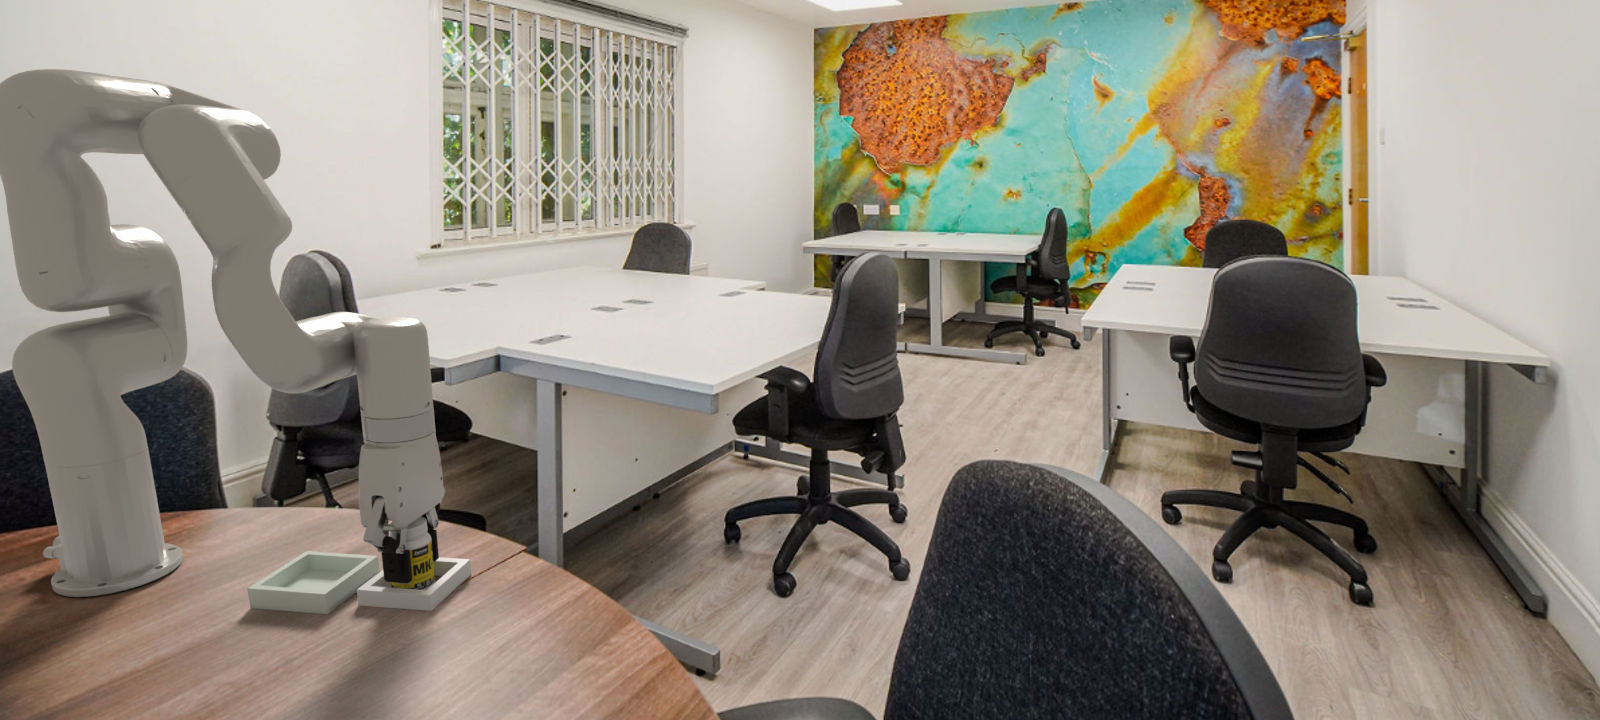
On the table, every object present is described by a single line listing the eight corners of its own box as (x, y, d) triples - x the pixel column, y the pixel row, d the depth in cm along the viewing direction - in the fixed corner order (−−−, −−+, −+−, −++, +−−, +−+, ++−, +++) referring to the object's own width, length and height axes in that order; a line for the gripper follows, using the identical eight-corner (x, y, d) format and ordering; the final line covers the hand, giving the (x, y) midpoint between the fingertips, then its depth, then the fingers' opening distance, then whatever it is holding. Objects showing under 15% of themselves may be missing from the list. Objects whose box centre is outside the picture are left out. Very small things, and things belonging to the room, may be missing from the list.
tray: (250, 608, 94) (247, 588, 94) (309, 569, 103) (306, 551, 103) (327, 614, 93) (324, 594, 92) (379, 574, 102) (377, 556, 102)
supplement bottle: (418, 599, 96) (412, 533, 94) (383, 594, 97) (376, 528, 95) (443, 580, 101) (438, 516, 99) (409, 575, 102) (403, 512, 100)
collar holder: (358, 605, 95) (356, 589, 95) (404, 569, 104) (402, 554, 103) (431, 611, 94) (429, 595, 93) (471, 574, 103) (470, 559, 102)
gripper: (411, 403, 103) (423, 537, 107) (318, 447, 86) (336, 603, 90) (467, 407, 102) (477, 542, 106) (384, 451, 86) (399, 609, 90)
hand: (412, 568), depth 98 cm, fingers closed on supplement bottle, 4 cm apart
